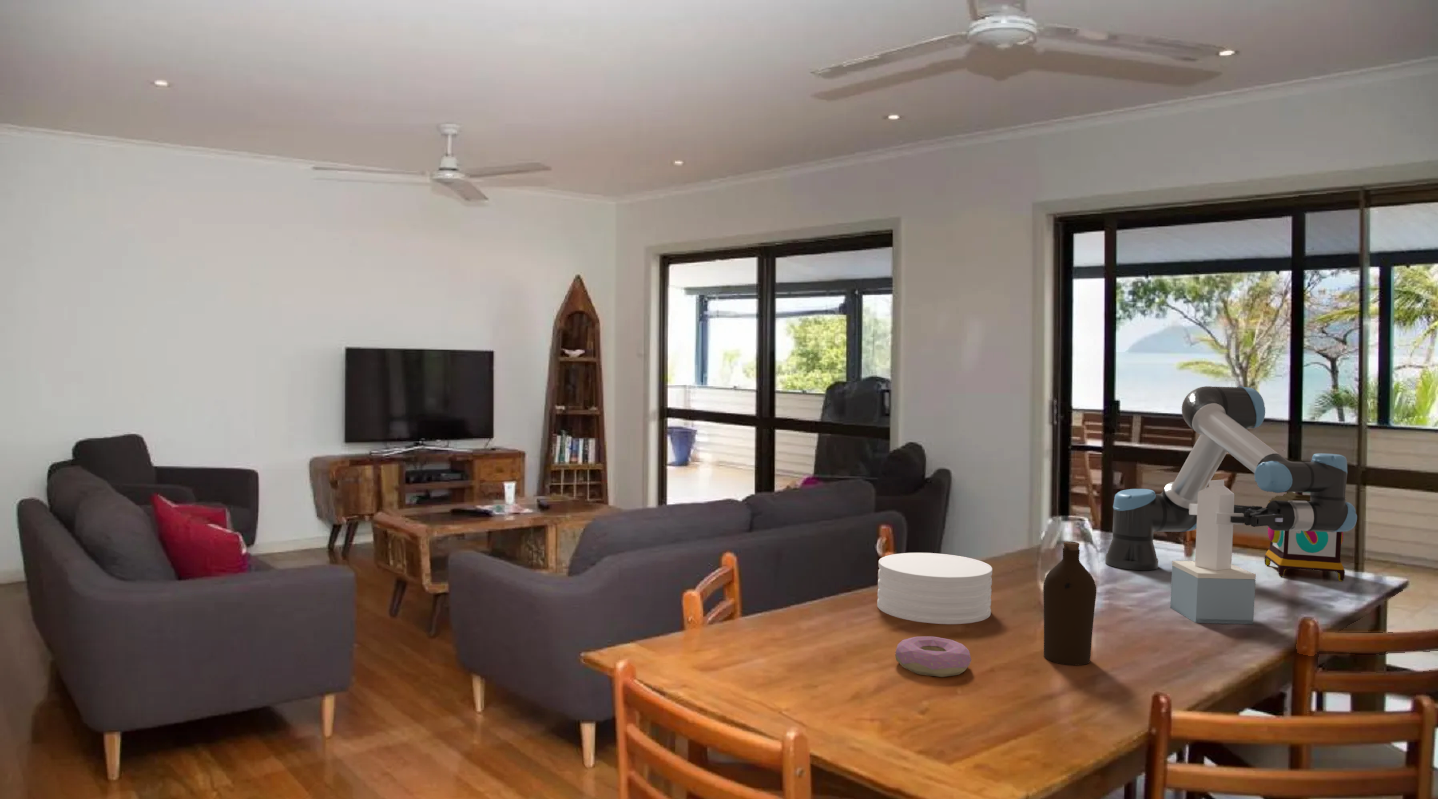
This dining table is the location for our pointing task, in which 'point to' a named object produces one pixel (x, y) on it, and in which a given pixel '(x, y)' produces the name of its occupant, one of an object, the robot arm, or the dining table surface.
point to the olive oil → (1069, 609)
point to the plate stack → (934, 588)
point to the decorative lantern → (1304, 546)
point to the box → (1212, 598)
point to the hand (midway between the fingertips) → (1202, 513)
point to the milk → (1214, 527)
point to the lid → (1213, 571)
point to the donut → (933, 656)
